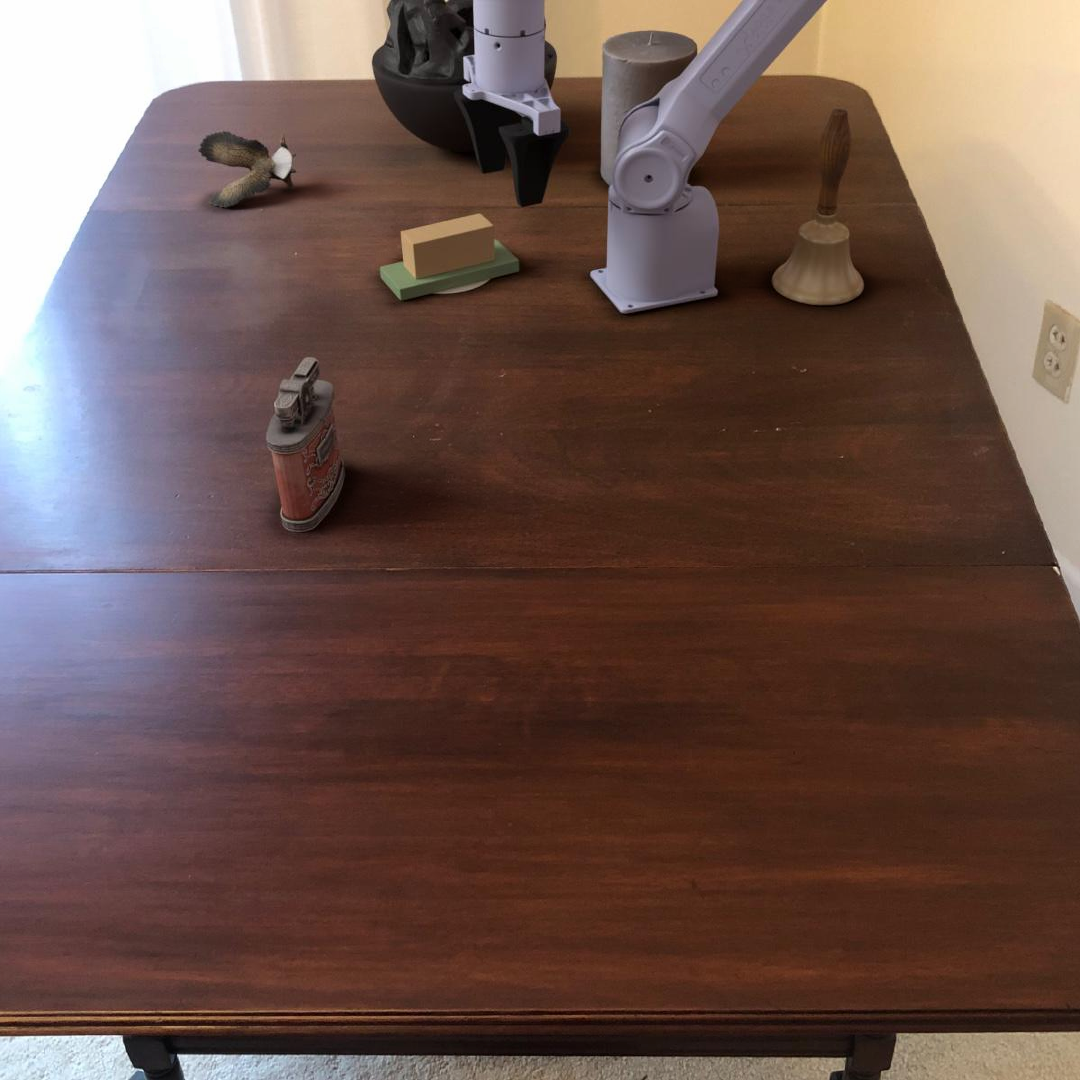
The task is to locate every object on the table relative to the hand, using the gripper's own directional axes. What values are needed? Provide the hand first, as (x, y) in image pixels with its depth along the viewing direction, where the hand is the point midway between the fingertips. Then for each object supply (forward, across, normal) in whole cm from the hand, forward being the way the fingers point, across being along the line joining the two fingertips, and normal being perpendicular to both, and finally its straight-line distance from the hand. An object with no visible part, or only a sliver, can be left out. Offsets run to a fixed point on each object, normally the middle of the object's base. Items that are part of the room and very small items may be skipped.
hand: (510, 186), depth 107 cm
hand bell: (+9, +14, +25) cm, 30 cm away
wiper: (+9, -4, -4) cm, 11 cm away
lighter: (+10, +23, -27) cm, 36 cm away
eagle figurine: (+10, -30, -15) cm, 36 cm away
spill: (+9, -5, -4) cm, 11 cm away
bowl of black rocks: (+10, -31, +10) cm, 34 cm away
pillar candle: (+9, -15, +23) cm, 29 cm away
